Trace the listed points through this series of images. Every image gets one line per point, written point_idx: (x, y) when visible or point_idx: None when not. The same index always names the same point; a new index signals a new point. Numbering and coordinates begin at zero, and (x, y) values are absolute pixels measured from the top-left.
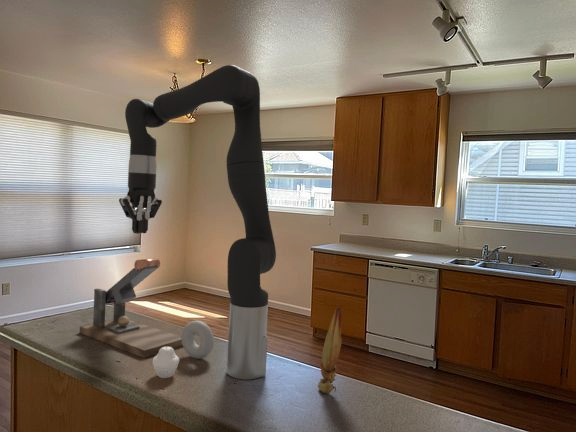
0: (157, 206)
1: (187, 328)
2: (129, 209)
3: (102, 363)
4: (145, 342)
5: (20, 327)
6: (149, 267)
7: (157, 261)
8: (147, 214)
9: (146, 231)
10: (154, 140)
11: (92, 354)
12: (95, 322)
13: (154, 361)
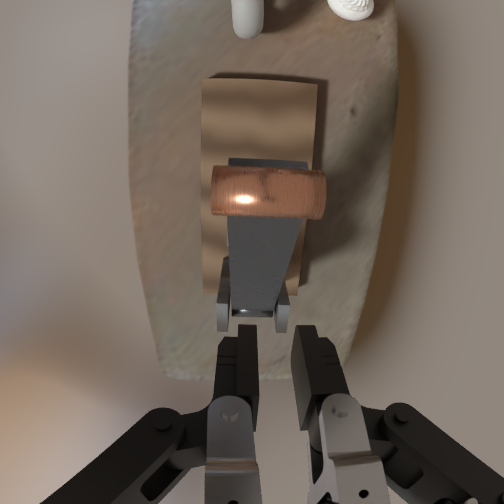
0: (89, 498)
1: (263, 8)
2: (452, 454)
3: (375, 126)
4: (283, 118)
5: None
6: (278, 163)
7: (226, 171)
8: (235, 443)
9: (240, 327)
10: None
11: (358, 174)
12: None
13: (373, 8)
